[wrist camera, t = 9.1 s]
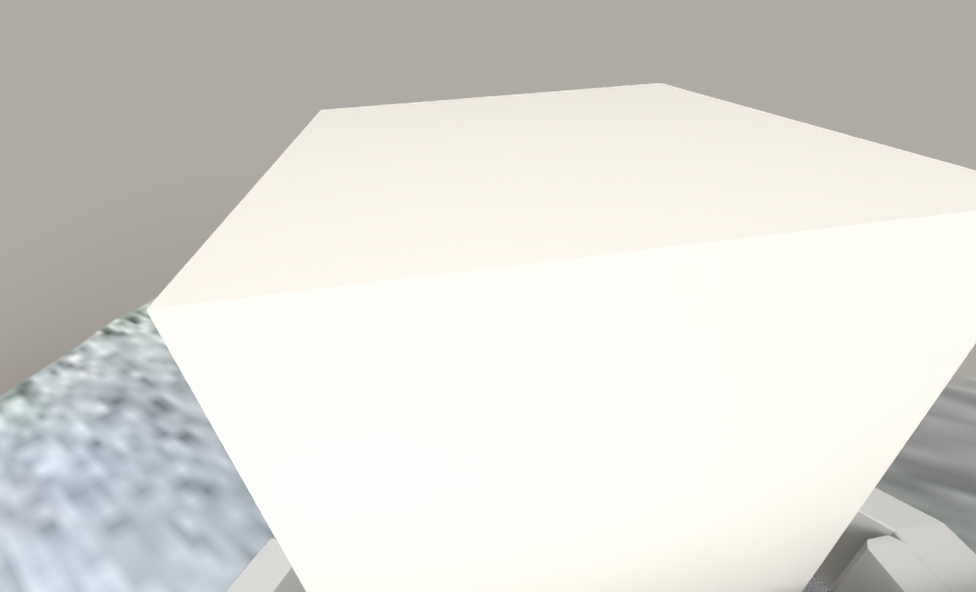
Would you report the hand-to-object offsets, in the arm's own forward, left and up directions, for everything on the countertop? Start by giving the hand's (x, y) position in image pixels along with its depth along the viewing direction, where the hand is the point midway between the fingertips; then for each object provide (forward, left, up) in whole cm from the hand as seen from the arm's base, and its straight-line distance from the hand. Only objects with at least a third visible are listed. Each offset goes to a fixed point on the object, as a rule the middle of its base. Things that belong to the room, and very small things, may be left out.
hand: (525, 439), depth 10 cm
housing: (0, +1, -7) cm, 8 cm away
